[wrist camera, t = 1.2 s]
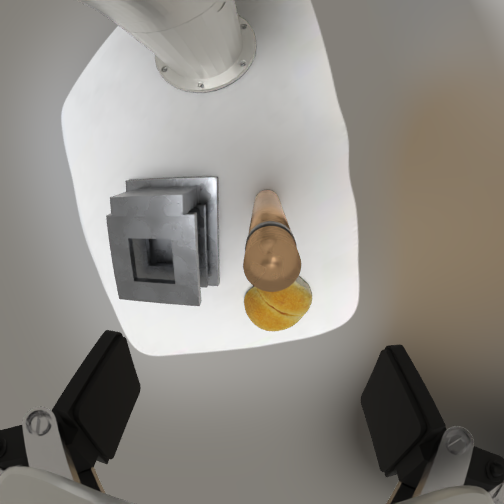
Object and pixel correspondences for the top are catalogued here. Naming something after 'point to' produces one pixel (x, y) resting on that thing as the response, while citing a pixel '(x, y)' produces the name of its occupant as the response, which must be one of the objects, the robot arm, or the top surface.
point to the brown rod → (270, 246)
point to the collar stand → (165, 239)
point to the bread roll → (278, 306)
